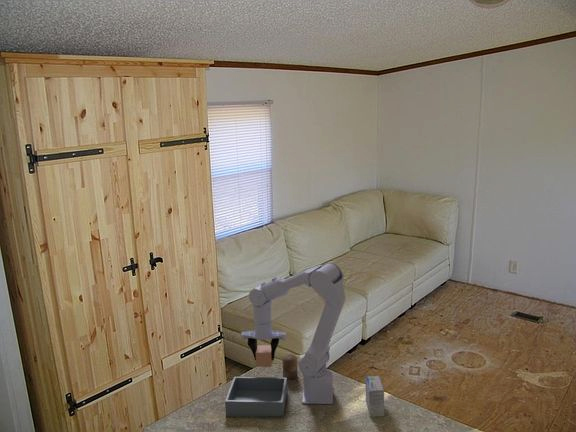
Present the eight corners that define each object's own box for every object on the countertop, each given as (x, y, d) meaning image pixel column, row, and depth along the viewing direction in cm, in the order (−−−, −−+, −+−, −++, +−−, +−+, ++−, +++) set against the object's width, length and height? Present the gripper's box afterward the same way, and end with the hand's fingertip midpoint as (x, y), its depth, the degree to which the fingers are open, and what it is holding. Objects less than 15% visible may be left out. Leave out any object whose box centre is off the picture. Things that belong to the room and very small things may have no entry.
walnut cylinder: (298, 372, 159) (297, 354, 158) (297, 380, 154) (296, 361, 153) (283, 372, 160) (283, 354, 158) (282, 380, 155) (281, 361, 153)
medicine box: (384, 417, 134) (384, 390, 132) (369, 417, 134) (369, 390, 132) (379, 400, 142) (379, 375, 140) (365, 401, 142) (365, 375, 140)
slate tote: (287, 391, 148) (286, 377, 147) (283, 417, 136) (282, 402, 135) (235, 390, 150) (234, 376, 149) (226, 416, 137) (224, 401, 136)
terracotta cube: (273, 359, 155) (272, 345, 154) (271, 366, 151) (270, 352, 150) (258, 358, 156) (257, 345, 155) (256, 366, 151) (255, 352, 150)
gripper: (285, 315, 153) (287, 353, 156) (243, 315, 155) (245, 352, 158) (283, 325, 146) (285, 363, 149) (239, 324, 148) (241, 363, 151)
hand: (264, 358), depth 153 cm, fingers closed on terracotta cube, 5 cm apart
